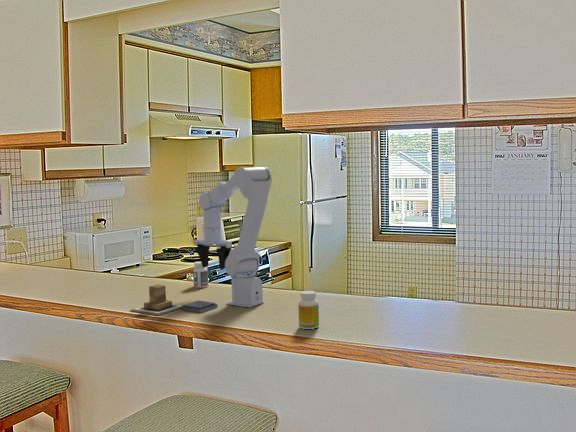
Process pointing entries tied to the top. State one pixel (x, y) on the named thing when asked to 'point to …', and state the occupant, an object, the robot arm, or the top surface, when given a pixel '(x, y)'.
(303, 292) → the supplement bottle
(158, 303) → the stamp
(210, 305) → the ink pad
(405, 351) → the top surface
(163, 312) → the marked square
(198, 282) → the pill bottle
